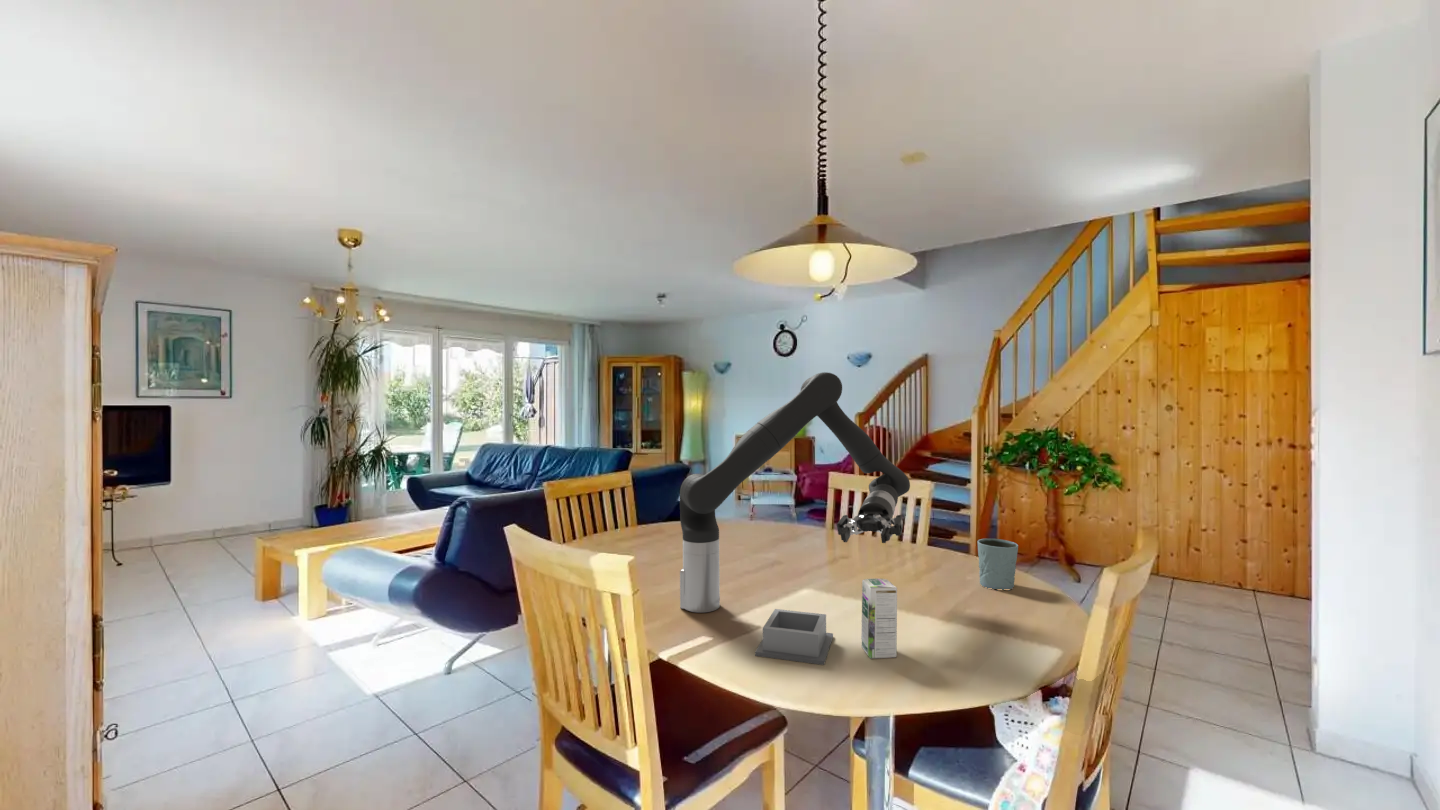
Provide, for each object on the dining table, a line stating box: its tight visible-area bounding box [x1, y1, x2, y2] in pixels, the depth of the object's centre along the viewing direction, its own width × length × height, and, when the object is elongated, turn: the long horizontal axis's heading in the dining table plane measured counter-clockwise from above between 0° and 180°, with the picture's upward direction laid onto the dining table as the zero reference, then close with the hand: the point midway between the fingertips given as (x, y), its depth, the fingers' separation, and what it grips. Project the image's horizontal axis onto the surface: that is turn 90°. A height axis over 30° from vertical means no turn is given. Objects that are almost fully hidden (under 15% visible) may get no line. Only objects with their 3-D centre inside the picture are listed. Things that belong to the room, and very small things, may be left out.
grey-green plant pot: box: [977, 538, 1019, 590], centre depth 162 cm, size 10×10×12 cm
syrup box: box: [861, 578, 898, 660], centre depth 120 cm, size 6×6×14 cm
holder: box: [754, 608, 834, 666], centre depth 124 cm, size 14×14×5 cm
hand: (863, 538), depth 128 cm, fingers open, 8 cm apart
